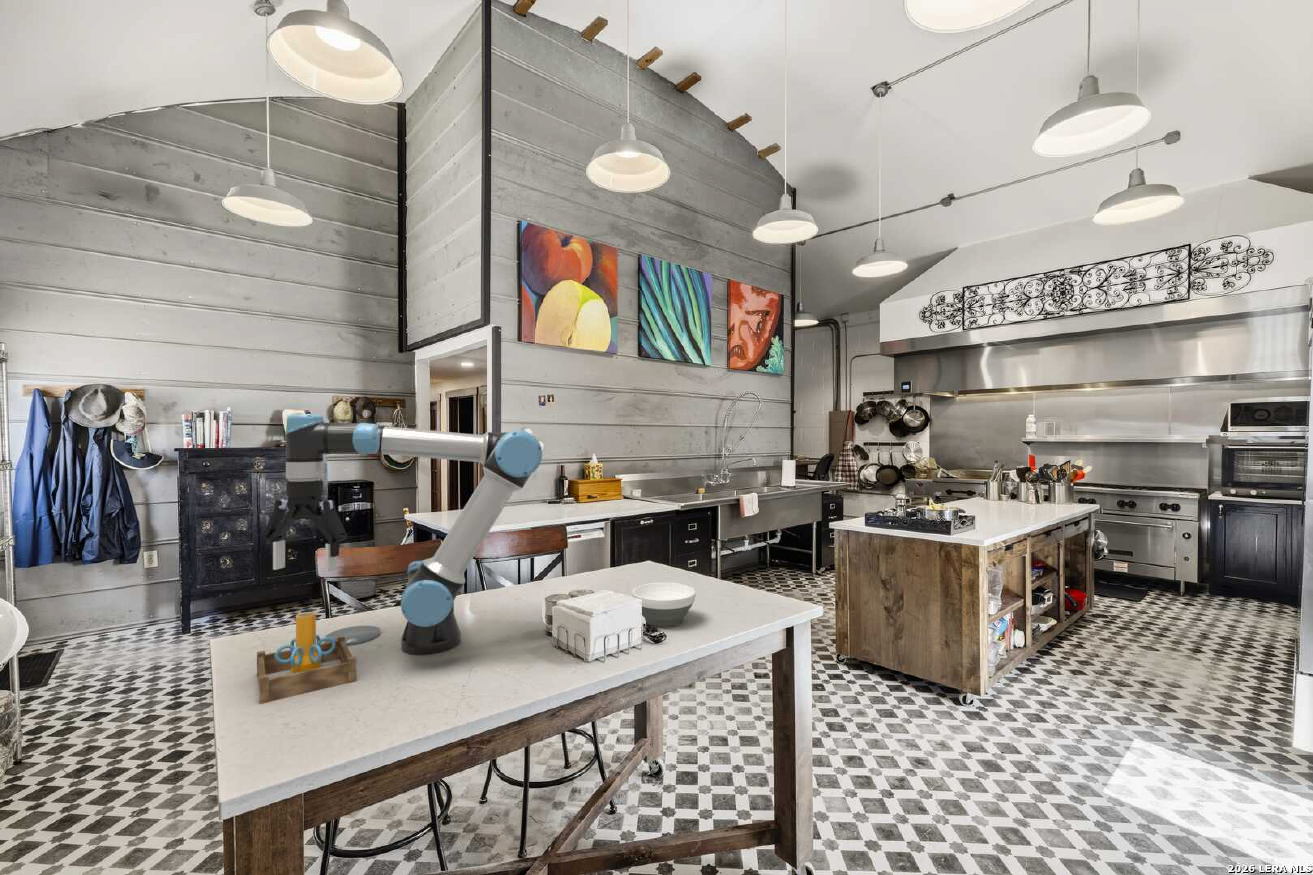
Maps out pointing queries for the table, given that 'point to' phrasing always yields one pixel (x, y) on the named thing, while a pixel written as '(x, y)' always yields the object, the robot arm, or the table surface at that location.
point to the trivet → (356, 634)
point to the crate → (304, 673)
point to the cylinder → (305, 645)
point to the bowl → (664, 602)
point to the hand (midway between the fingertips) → (304, 569)
